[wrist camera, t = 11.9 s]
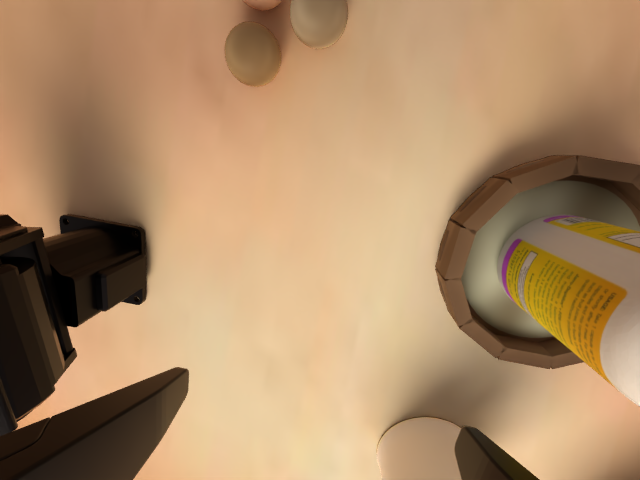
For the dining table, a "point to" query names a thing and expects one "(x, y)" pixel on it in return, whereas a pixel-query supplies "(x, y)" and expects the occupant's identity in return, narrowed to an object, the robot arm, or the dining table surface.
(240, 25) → the bead honey
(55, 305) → the robot arm
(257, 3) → the pinkish tan ball
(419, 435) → the mug
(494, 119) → the dining table surface
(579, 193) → the faceted wooden bowl
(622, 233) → the supplement bottle
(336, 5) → the bead maple
